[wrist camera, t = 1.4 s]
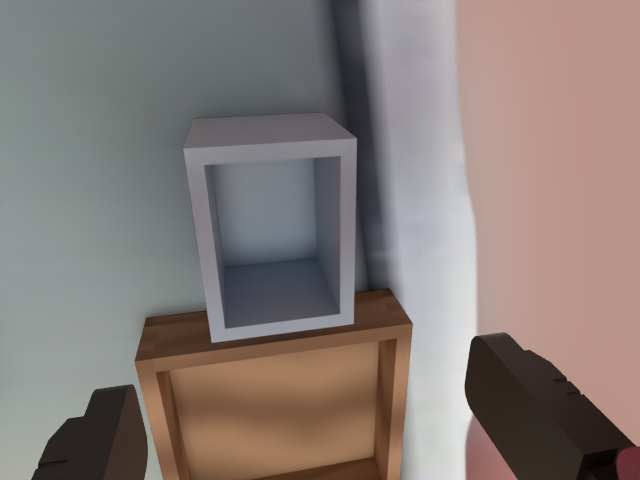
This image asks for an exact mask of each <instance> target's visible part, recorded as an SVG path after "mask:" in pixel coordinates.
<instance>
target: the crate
mask: <svg viewBox="0 0 640 480" xmlns="http://www.w3.org/2000/svg"><path fill="white" fill-rule="evenodd" d="M412 327H413V323H412V322H411V320H410V319H409V317H408V316H407V314H406V312H405V311H404V309H403V308H402V306H401V305H400V303H399V302H398V300H397V299H396V297H395V296H394V294H393V293H392V291H391V290H390V289H385V290H377V291H368V292H360V293H354V324H350V325H342V326H335V327H327V328H320V329H312V330H305V331H297V332H290V333H282V334H275V335H267V336H260V337H252V338H245V339H237V340H230V341H222V342H215V343H212V341H211V334H210V327H209V321H208V314H207V311H203V312H195V313H187V314H178V315H170V316H162V317H154V318H146V321H145V324H144V328H143V332H142V336H141V339H140V343H139V347H138V351H137V354H136V358H135V365H136V369H137V373H138V377H139V382H140V386H141V390H142V394H143V398H144V402H145V406H146V411H147V415H148V419H149V423H150V427H151V431H152V435H153V439H154V444H155V448H156V452H157V456H158V460H159V464H160V468H161V472H162V477H163V480H399V477H400V466H401V454H402V442H403V431H404V419H405V408H406V396H407V384H408V373H409V361H410V350H411V338H412Z"/></svg>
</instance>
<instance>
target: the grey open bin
mask: <svg viewBox="0 0 640 480" xmlns="http://www.w3.org/2000/svg"><path fill="white" fill-rule="evenodd" d="M183 151H184V158H185V165H186V171H187V178H188V185H189V192H190V199H191V205H192V212H193V219H194V226H195V232H196V239H197V246H198V253H199V260H200V266H201V273H202V280H203V287H204V294H205V300H206V307H207V314H208V321H209V327H210V334H211V341H212V343H215V342H222V341H230V340H237V339H245V338H252V337H260V336H267V335H275V334H282V333H290V332H297V331H305V330H312V329H320V328H327V327H335V326H342V325H350V324H354V281H355V224H356V168H357V138H356V137H355V136H353V135H352V134H351V133H350V132H348V131H347V130H346V129H344V128H343V127H342V126H341V125H339V124H338V123H337V122H335V121H334V120H333V119H332V118H330V117H329V116H328V115H326V114H325V113H324V112H322V113H302V114H282V115H262V116H242V117H223V118H203V119H193V122H192V125H191V128H190V131H189V133H188V136H187V139H186V142H185V145H184V148H183Z"/></svg>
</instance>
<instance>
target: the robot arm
mask: <svg viewBox="0 0 640 480" xmlns="http://www.w3.org/2000/svg"><path fill="white" fill-rule="evenodd" d="M465 395H466V399H467V402H468V405H469V407H470V409H471V411H472V412H473V414H474V415H475V417H476V418H477V420H478V421H479V422H480V424H481V426H482V427H483V429H484V430H485V431H486V433H487V434H488V436H489V437H490V439H491V440H492V442H493V443H494V445H495V446H496V448H497V449H498V451H499V452H500V454H501V455H502V457H503V458H504V460H505V461H506V463H507V464H508V466H509V467H510V468H511V470H512V472H513V473H514V475H515V476H516V478H517V479H518V480H640V447H637V446H636V445H635V444H633V443H632V442H631V441H630V440H629V439H628V438H627V437H626V436H625V435H624V434H623V433H622V432H621V431H620V430H619V429H618V428H617V427H616V426H615V425H614V424H613V423H612V422H611V421H610V420H609V419H608V418H607V417H606V416H605V415H604V414H603V413H602V412H601V411H600V410H599V409H597V407H596V406H595V405H594V404H593V403H592V402H591V401H590V400H589V399H588V398H586V397H585V395H584V394H583V395H581V394H580V391H579V390H578V389H577V388H576V387H575V386H574V385H573V384H572V383H571V382H570V381H567V378H566V377H565V376H564V375H563V374H562V373H561V372H560V371H559V370H558V369H557V368H556V367H555V366H554V365H553V364H552V363H551V362H549V361H547V360H546V359H544V358H542V357H541V356H539V355H537V354H535V353H534V352H532V351H530V350H526V351H524V350H523V349H522V348H521V347H520V346H519V345H518V344H517V343H516V342H515V340H514V339H513V338H511V336H510V335H508V334H507V333H495V334H488V335H481V336H475V337H474V338H473V339H472V341H471V345H470V352H469V359H468V365H467V372H466V379H465ZM147 458H148V444H147V436H146V431H145V427H144V423H143V419H142V414H141V410H140V406H139V402H138V398H137V393H136V390H135V387H134V386H133V385H132V384H130V385H123V386H116V387H109V388H102V389H96V390H95V391H94V392H93V394H92V396H91V399H90V401H89V404H88V407H87V409H86V412H85V415H84V416H82V417H76V418H69V419H67V420H66V421H65V423H64V424H63V425H62V426H61V427H60V428H59V429H58V430H57V431H56V433H55V434H54V435H53V436H52V437H51V438H50V439H49V440H48V442H47V445H46V447H45V449H44V452H43V454H42V456H41V459H40V461H39V463H38V469H36V470H35V472H34V475H33V477H32V479H31V480H144V478H145V472H146V467H147Z"/></svg>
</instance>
